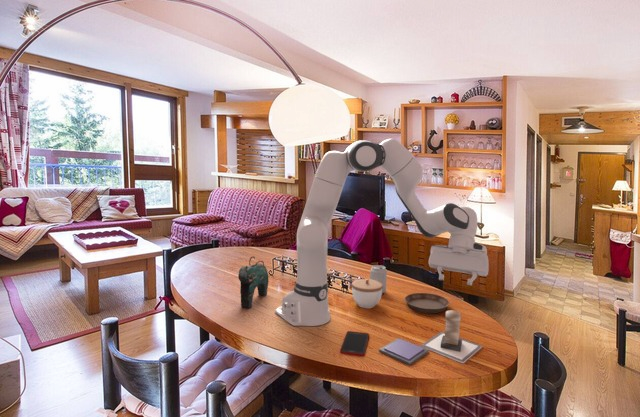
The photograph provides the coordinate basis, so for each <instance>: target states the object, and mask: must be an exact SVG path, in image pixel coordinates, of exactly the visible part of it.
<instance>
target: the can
mask: <svg viewBox="0 0 640 417" xmlns="http://www.w3.org/2000/svg"><path fill="white" fill-rule="evenodd" d="M387 274H388V270H387V269H386V266H384V265H382V264H381V265H378V264H377V265H375V264H374V265H371V268H370V273H369V279H370V280H375V281H378V282H380V283H382V285H383V287H382V295H384V294H385V293H386V292H387ZM383 293H384V294H383Z"/></svg>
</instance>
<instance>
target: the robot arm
mask: <svg viewBox="0 0 640 417" xmlns="http://www.w3.org/2000/svg"><path fill="white" fill-rule="evenodd" d="M379 167H380V168H381V169H383V170H384V172H386V173H387V175H388V176H389V177H390V178H391V180H392V181H393V183H394V185H395V188H394V189H395V192H396V196H397V197H398V199H399V200H400V201H401V203H402V204H403V206H404V208H406V210H407V211H408V213H409V215H410V216H411V218H412V220H414V222H415V224H416V227H417V229H418V230H419V232H420V233H421V234H422V235H423V236H424V237H426V238H435V237H437V236H439V235H441V234H445V233H449V234H450V236H449V239H448V245H442V244H438V243H437V244H435V245H432V246H431V248H430V251H429V253H430V255H429V258H428V266H429V267H430V269H431V268H432V269H435V270H436V269H437V273H438V280H439V281H444V280H445V275H444V274H443V273H442V272H443V270H444V271H449V272H450V271H451V272H455V273H456V272H457V273H460V274H461V273H463V274H468V275H471V276H472V277H470V278H467V282H466V284H467V286H473V281H475V280H476V279H477V277H478V276H479V277H480V276H481V277H487V276H488V275H489V266H490V265H489V256H488V250H487V247H486V246H485V245H484V244H481V243H478V242H476V239H475V237H476V235H477V231H478V215H477V212H476V211H475V210H474V209H472V207H468V206H459V205H457V204H455V203H453V202H449V203H445V204H443V205H440V206H438V207H436V208H434V209H431V210H428V209H426V208H425V207H424V205H423V204H422V203H421V201H420V199H419V198H418V196H417V195H416V191H415V190H416V188H417V186H418V185H419V183H420V182H421V180H422V178H423V167H422V165H421V163H420V161H419V160H418V159H417V157H415V156H414V155H413V153H411V151H410V150H409V149H408V148H407V147H405V146H404V145H403V144H402V143H401V142H399V141H398V140H397V139H394V138H387V139H385V140H383V141H381V143H376V142H374V141H370V140H366V139H365V140H364V139H359V140H356V141H354V142H352V143H351V144H350V145H348V146H347V147H346V148H345V149H344V150H343V151H342V152H341V151H338V150H331V151H328V152H325V154H324V155H323V157H322V158H321V161H320V163H319V165H318V167H317V169H316V172H315V175H314V176H313V177H314V178H313V181H312V184H311V187H310V189H309V193H308V196H307V200H306V202H305V206H304V209H303V212H302V214H301V218H300V221H299V223H298V227H297V231H296V257H297V258H296V259H297V260H296V262H297V263H296V264H297V269H296V272H297V274H296V276H297V277H296V281H292V286H294V287H293V289H292V290H291V291H290V292H288V293H287V294H285V295H284V296H283V297H282V300H281V305H280V306H278V307H277V308H276V309H275V310H274V312H275V313H276V315H278V316H279V317H280V318H282V319H283V320H285V321H286V322H287V323H289V324H290V325H291V326H294V327H298V326H299V327H300V326H303V327H304V326H306V327H317V326H323V325H325V324H326V323H328V322H330V321H331V315H330V313H331V312H330V308H329V298H328V292H329V288H328V287H329V284H328V279H327V278H328V276H327V274H328V246H329V245H328V244H329V241H328V239H329V232H328V231H329V227H330V225H331V221H332V219H333V217H334V214H335V212H336V209H337V207H338V203H339V201H340V198H341V196H342V193H343V188H344V186H345V183H346V180H347V177H348V176H349V174H350V173H351V172H352V171H356V172H363V173H367V172H370V171H373V170H374V169H377V168H379Z"/></svg>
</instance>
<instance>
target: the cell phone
mask: <svg viewBox="0 0 640 417" xmlns="http://www.w3.org/2000/svg"><path fill="white" fill-rule="evenodd" d="M369 338H370V333H367V332H360V331H352V330H348V331H346V334H345V337H344V339H343V341H342V344H341V347H340V349H339V353H340V354H343V355H350V356H357V357H364V356H365V354H366V349H367V347H368V343H369Z"/></svg>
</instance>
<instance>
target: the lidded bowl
mask: <svg viewBox="0 0 640 417" xmlns="http://www.w3.org/2000/svg"><path fill="white" fill-rule="evenodd" d="M351 287H352V288H351V293H352V299H353V300H354V302H355V303H356V304H357V306H359V307H360V308H362V309H372V308H375V307H376V305H377V304H379V302H380V301H381V298H382V295H383V294H382V287H383V285H382V283H380V282H378V281H375V280H370V278H362V279H356V280H353V281H352V283H351Z"/></svg>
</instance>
